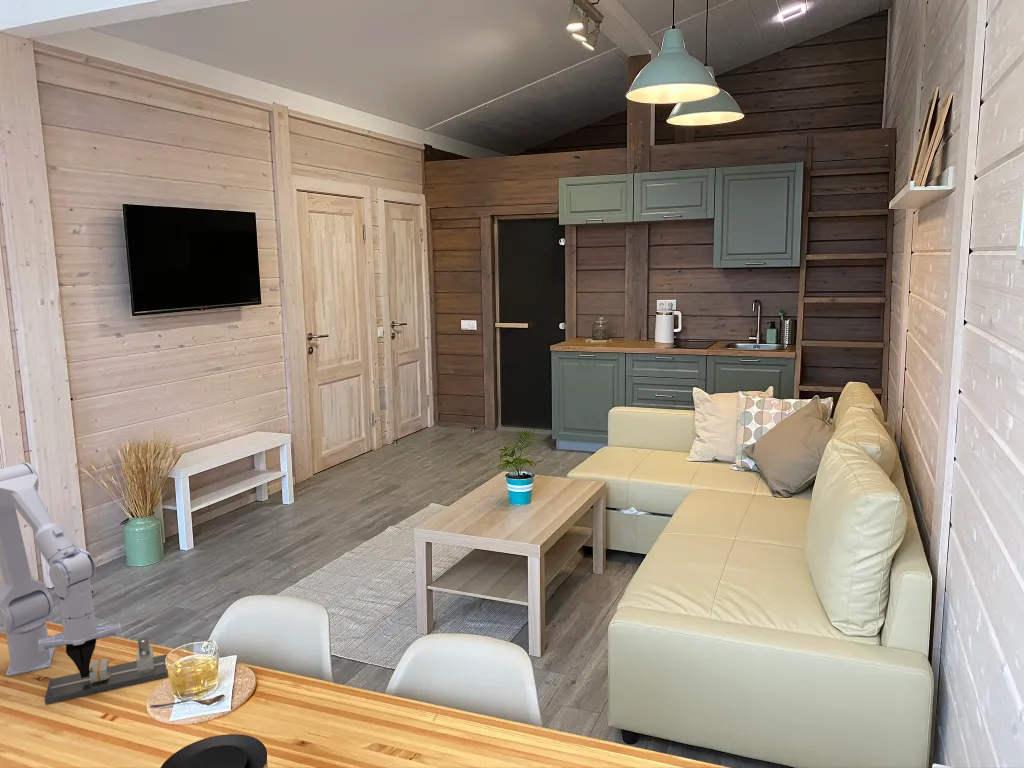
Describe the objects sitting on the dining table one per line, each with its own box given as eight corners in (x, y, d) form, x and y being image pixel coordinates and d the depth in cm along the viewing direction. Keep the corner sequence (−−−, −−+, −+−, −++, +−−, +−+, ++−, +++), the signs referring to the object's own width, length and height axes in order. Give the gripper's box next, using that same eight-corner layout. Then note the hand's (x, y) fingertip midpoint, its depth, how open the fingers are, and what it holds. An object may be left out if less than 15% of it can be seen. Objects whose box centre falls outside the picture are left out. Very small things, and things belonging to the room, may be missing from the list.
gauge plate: (50, 684, 157) (46, 651, 156) (167, 659, 166) (164, 627, 165) (45, 704, 150) (40, 669, 148) (167, 677, 159) (164, 644, 157)
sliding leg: (92, 671, 159) (91, 660, 158) (109, 667, 160) (107, 657, 159) (90, 683, 154) (89, 672, 154) (107, 679, 155) (106, 669, 155)
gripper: (32, 629, 147) (41, 693, 149) (117, 613, 153) (124, 675, 155) (38, 614, 153) (46, 676, 155) (118, 599, 159) (125, 659, 161)
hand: (85, 675), depth 156 cm, fingers closed
